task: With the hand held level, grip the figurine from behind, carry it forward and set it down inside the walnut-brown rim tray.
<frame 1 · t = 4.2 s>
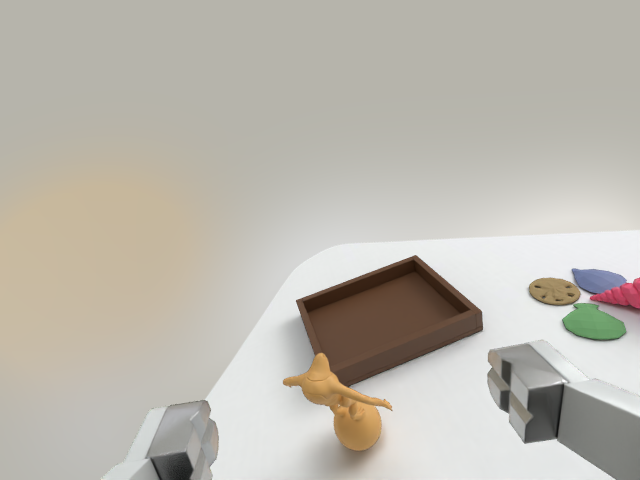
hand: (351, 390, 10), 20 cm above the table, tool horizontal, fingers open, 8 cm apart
figurine: (358, 450, 29), on the table
toy pieces: (599, 301, 36), on the table
tray: (381, 321, 41), on the table
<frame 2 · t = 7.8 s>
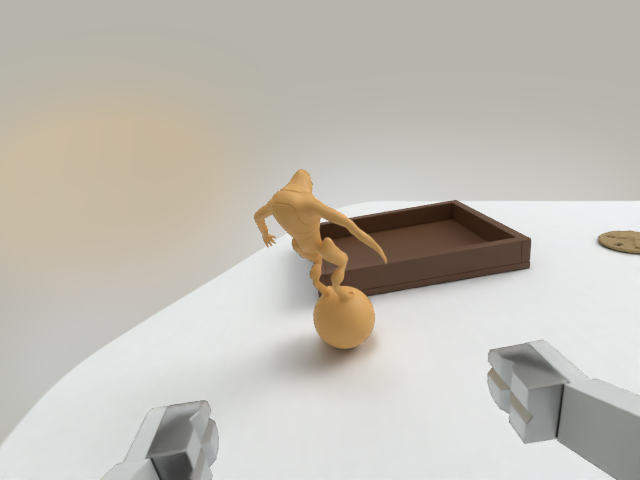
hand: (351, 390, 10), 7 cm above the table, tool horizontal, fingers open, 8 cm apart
figurine: (340, 353, 22), on the table
tray: (401, 254, 35), on the table
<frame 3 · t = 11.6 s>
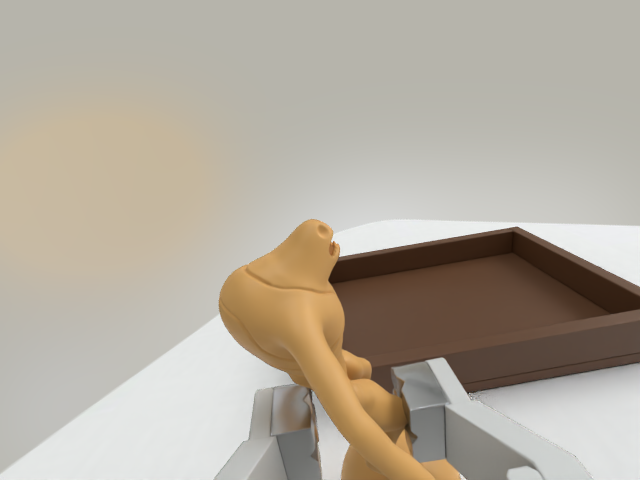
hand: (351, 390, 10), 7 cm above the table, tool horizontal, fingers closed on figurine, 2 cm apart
tray: (451, 312, 24), on the table
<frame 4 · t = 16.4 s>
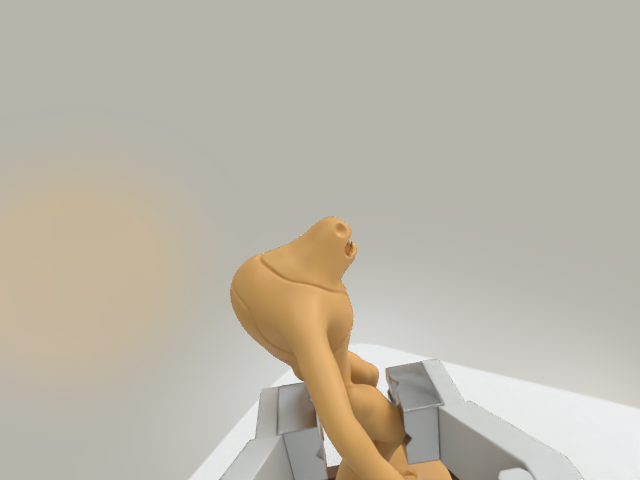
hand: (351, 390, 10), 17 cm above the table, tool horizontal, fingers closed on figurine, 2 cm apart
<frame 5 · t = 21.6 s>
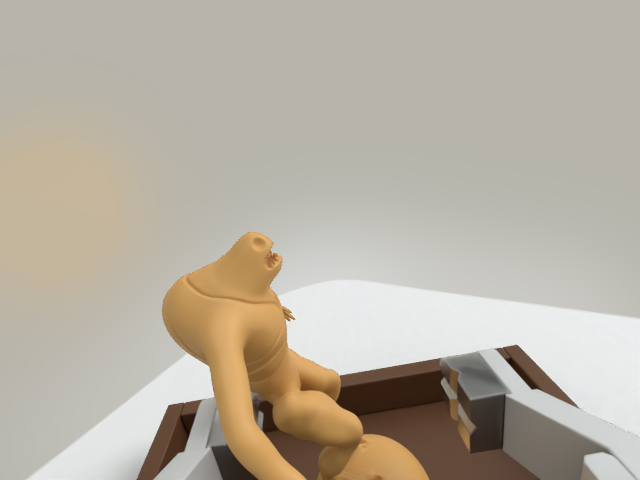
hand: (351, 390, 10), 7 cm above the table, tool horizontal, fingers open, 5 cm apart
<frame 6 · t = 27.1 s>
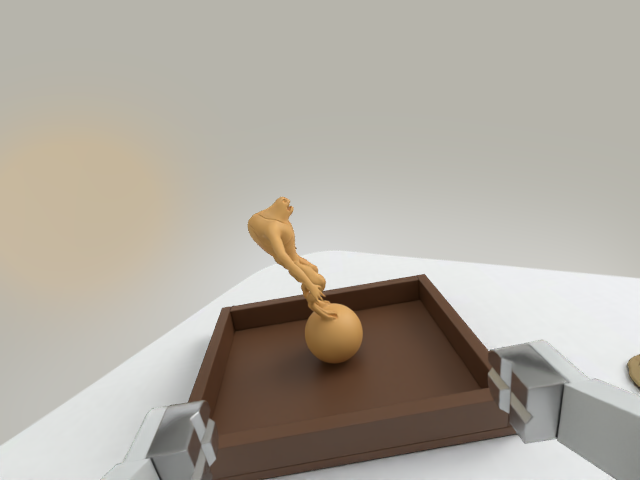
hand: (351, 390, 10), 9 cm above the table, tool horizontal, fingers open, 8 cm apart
figurine: (324, 362, 24), resting on tray
tray: (337, 370, 24), on the table
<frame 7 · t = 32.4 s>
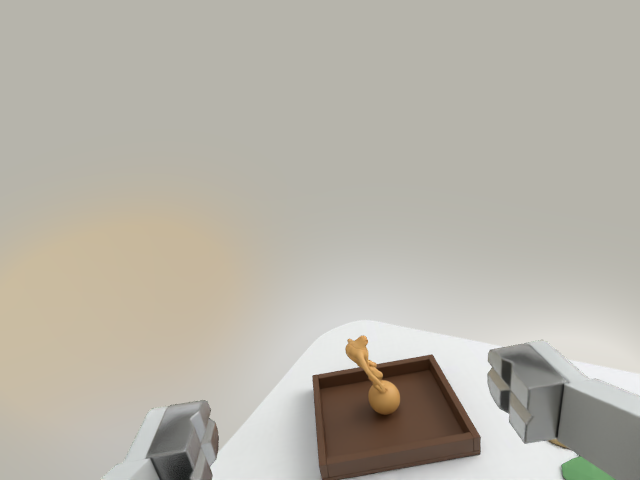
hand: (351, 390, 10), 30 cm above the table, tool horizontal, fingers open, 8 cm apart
figurine: (378, 412, 44), resting on tray
toy pieces: (605, 454, 36), on the table
tray: (386, 417, 44), on the table
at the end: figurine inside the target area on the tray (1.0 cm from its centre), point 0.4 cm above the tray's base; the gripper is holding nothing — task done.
